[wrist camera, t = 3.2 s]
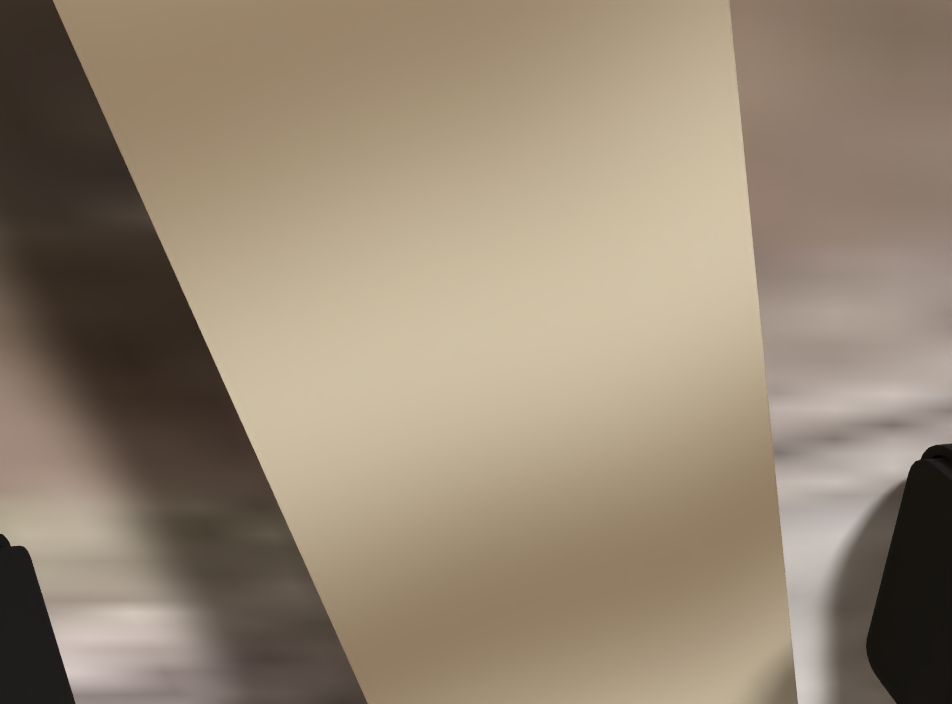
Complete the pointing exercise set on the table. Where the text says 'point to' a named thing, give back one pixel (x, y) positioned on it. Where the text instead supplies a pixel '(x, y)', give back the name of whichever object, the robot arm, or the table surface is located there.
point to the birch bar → (479, 325)
